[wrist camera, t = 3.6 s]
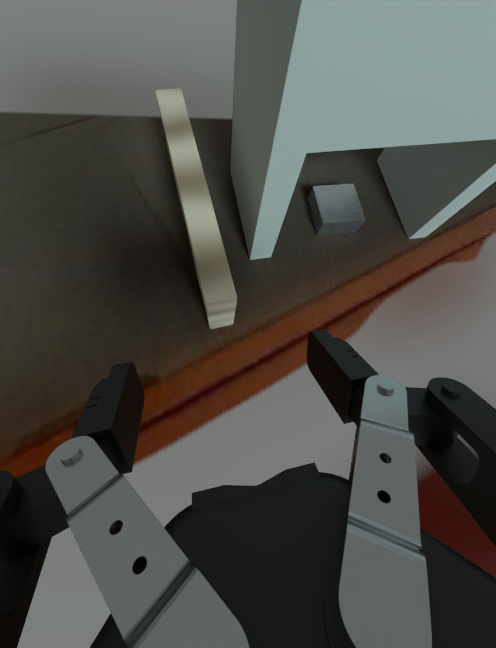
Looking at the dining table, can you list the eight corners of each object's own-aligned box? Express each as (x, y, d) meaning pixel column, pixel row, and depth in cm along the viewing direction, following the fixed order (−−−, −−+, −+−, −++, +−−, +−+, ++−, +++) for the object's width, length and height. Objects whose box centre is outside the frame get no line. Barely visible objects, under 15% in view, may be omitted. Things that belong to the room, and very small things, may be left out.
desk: (425, 236, 32) (757, -30, 12) (249, 259, 29) (311, -49, 9) (390, 152, 36) (605, -166, 16) (228, 164, 33) (240, -214, 13)
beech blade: (233, 324, 27) (237, 297, 20) (209, 329, 27) (205, 304, 20) (189, 156, 33) (180, 88, 26) (170, 159, 32) (155, 90, 25)
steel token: (355, 233, 32) (365, 220, 30) (315, 236, 31) (323, 223, 29) (344, 198, 33) (353, 183, 31) (306, 201, 33) (312, 186, 30)
